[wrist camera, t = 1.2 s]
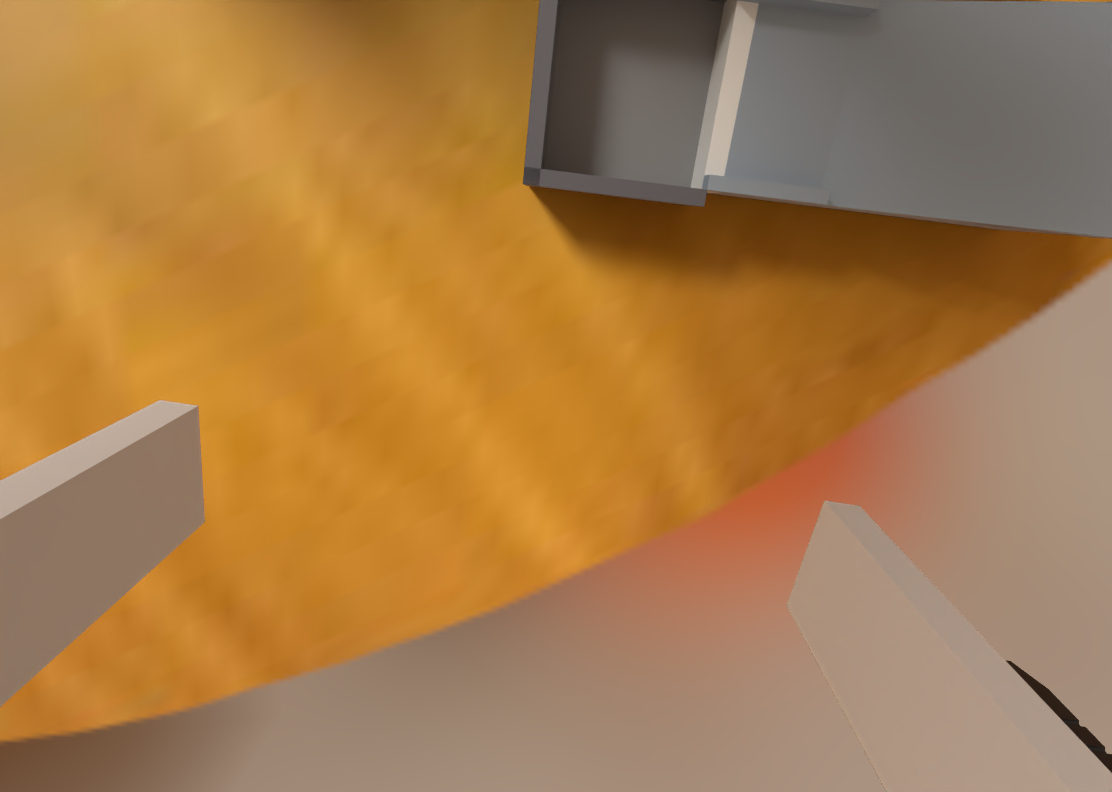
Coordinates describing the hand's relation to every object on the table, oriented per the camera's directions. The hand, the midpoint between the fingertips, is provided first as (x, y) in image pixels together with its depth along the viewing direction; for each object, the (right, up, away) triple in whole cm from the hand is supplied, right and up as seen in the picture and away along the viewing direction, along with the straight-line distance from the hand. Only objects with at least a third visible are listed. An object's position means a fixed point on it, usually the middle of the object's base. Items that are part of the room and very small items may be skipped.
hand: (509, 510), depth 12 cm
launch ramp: (+18, +17, +19) cm, 31 cm away
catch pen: (+5, +19, +18) cm, 27 cm away
